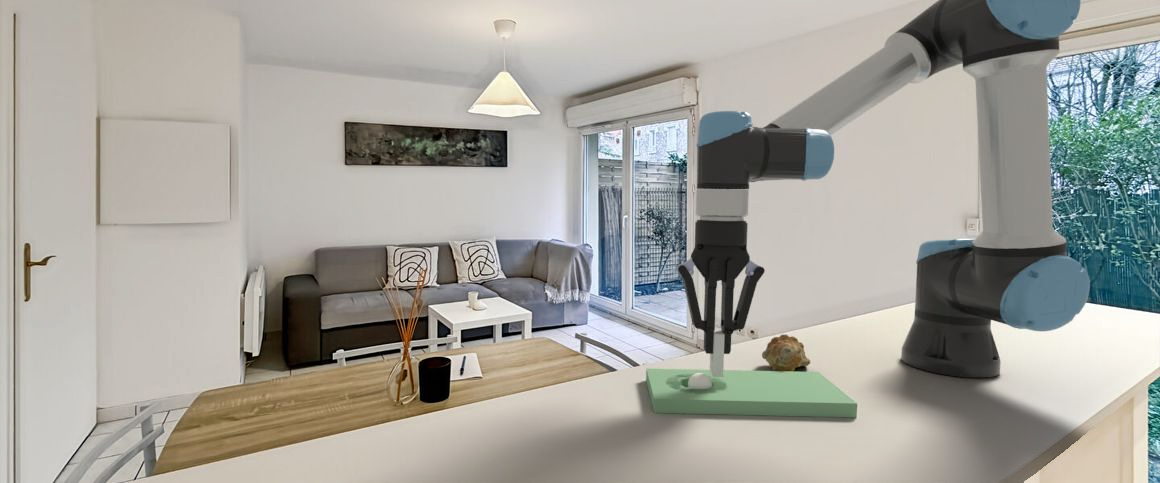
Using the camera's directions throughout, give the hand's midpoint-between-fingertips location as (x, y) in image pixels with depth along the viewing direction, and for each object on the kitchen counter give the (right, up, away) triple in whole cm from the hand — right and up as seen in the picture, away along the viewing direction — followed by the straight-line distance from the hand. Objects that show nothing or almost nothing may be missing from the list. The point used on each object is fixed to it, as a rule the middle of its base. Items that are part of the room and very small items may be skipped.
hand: (716, 374), depth 86 cm
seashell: (+16, -3, +14) cm, 21 cm away
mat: (+4, -4, 0) cm, 5 cm away
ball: (-2, -2, 0) cm, 3 cm away
